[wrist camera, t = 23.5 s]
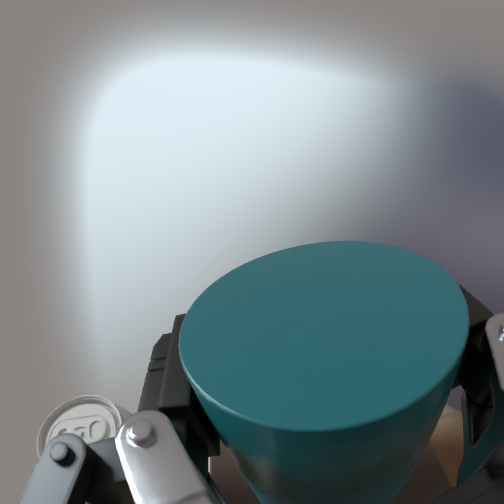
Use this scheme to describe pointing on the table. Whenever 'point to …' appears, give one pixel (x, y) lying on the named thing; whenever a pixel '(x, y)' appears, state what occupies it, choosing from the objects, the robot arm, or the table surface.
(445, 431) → the table surface
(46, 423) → the beer can
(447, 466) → the table surface
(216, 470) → the cabinet
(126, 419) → the robot arm
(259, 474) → the cylinder
